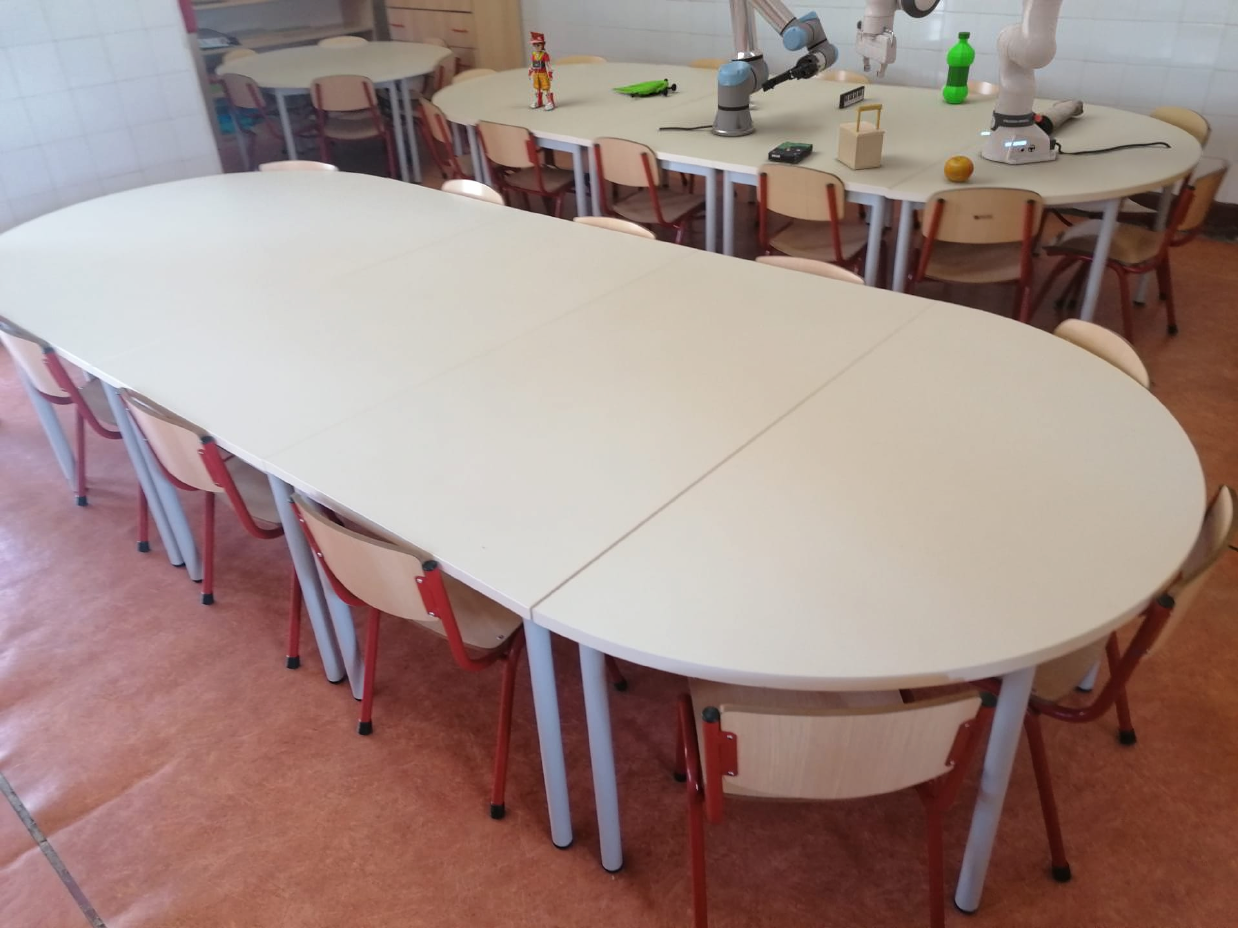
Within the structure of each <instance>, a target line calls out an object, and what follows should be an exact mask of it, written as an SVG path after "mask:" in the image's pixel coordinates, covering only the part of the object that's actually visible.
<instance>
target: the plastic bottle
mask: <svg viewBox="0 0 1238 928" xmlns="http://www.w3.org/2000/svg"><path fill="white" fill-rule="evenodd" d="M970 36H971V32H970V31H959V32H958V36H957V39H958V42H957V43H956V44H954V45H953V46H952V47H951V48H950V49H949V50H948V52H947V54H946V63H947V64H948V69H947V70H948V71H947V76H946V77H947V78H946V84H945V85H944V87H943V90H942V97H943V99H944V100H945V101H946V102H947V103H948V104H960V103H961V102H963V101H964V100H966V98H967V96H968V95H969V85H968V79H969V73H970V67H971V65H972V64H973V63H974V61H975V57H976V51H975V49H974V47H972V45H971V44H970V43H969V42H968V41H969V39H970V38H971V37H970Z"/></svg>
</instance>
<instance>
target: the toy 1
mask: <svg viewBox="0 0 1238 928" xmlns="http://www.w3.org/2000/svg"><path fill="white" fill-rule="evenodd" d="M529 33H530V35H531V36H528V37H527V38H528V39H529V40H528V41H527V43H529V44H530V43H531V44H532V48H533V50H534V51H533V52H532V55H531V58H530V59H531V63H530V66H528V74H527V75H528V76H527V77H528V79H529V80H531V75H532V74H533V84H532V85H533V86H532V87H533V88H534V89H535V90H536V92H534V95H535V97H536V100H535V101H533V102H531V105H530V108H531V109H535V108H538V107H542V106H544V101H543V100H544V99H543V95H544V92H546V94H545V97H546V99H547V103H546V104H545V106H544V110H546V111H549V110H553V109H554V107H555V106H556V105H555V99H554V92H551V91H550V90H551V86H552V84H551V82H552V81H553V80H554V77H553V73H554V71H555V70H554V69H552V68H551V63H550V61H551V59H550V58H551V57H550V54H549V53H548V52H547V50H546V48H545V46H546V44H547V41H545V35H544V33H543V32H542V33H539V32H535V31H529Z"/></svg>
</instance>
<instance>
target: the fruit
mask: <svg viewBox="0 0 1238 928" xmlns="http://www.w3.org/2000/svg"><path fill="white" fill-rule="evenodd" d="M974 169H975V166H974V162H973V161H972V160H971V159H970V158H969V157H968V156H964V155H957V156H953V157H951V158H949V159H948V160H946V162H945V164H944V166H943V175H944V177H945V178H946V179H947V180H948V181H951V182H957V183H959V182H960V183H961V182H965V181H967V180H968V179H969V178H971V176H972V175H973V174H974Z"/></svg>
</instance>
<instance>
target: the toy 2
mask: <svg viewBox="0 0 1238 928" xmlns="http://www.w3.org/2000/svg"><path fill="white" fill-rule="evenodd" d="M669 85H670V83H669V79H668V78H664V79H663V80H649V81H644V82H640V83H634V84H629V85H627V86H621V87H613V88H612V89H613V90H616V91H619V92H623V93H627V94H628V93H629V94H631V95H630V96H631V98H632V99H634V98H636V96H637V95H650V94H652V93H654V94H658V93H662V95H663V96H665V97H667V96H668V95H669V90H671V91H672V92H676V91H677V84H676V83H672V84H671V86H669Z"/></svg>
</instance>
